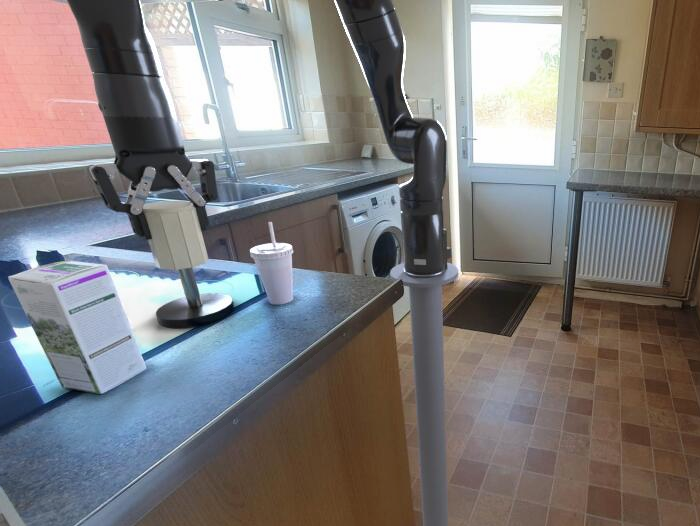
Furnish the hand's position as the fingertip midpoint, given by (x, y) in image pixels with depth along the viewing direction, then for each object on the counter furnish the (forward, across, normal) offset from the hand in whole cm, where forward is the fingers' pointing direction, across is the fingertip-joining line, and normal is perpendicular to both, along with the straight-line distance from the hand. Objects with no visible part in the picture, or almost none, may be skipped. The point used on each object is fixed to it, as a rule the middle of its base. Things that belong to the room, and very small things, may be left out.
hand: (175, 233), depth 61 cm
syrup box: (+14, -14, -11) cm, 22 cm away
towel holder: (+13, 0, 0) cm, 13 cm away
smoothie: (+14, +11, -5) cm, 18 cm away
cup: (+5, 0, 0) cm, 5 cm away
